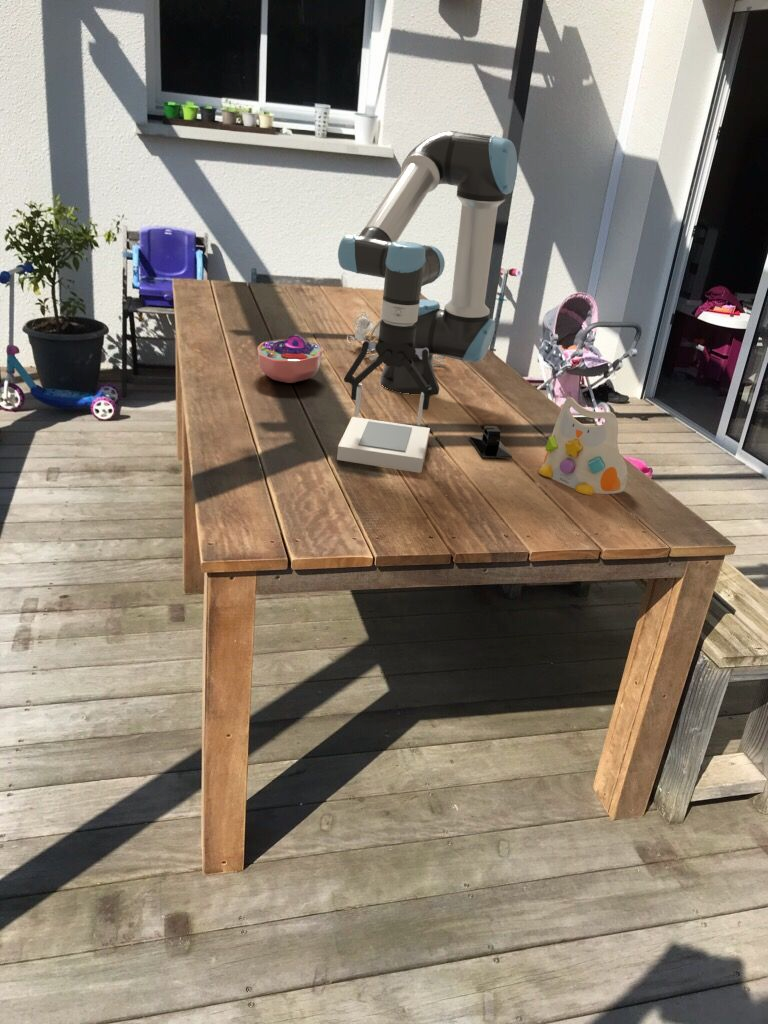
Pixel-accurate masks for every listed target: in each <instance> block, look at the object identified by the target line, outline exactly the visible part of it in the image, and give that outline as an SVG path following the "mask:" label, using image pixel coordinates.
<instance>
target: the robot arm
mask: <svg viewBox="0 0 768 1024" xmlns="http://www.w3.org/2000/svg"><path fill="white" fill-rule="evenodd" d="M400 171H401V172H400V174H399V176H398V177H397V179H396V180H395V182H394V183H393V185H391V187H390V189H389V191H387V193H386V195H385V196H384V198H383V199H382V201H381V203H380V204H379V205H378V206H377V209H375V211H374V213H373V214H372V215H371V218H370V219H369V221H368V222H367V223H366V225H365V226H364V228H363V229H362V230H361V232H360V233H359V235H357V234H355V233H354V234H346V235H344V236H343V237H342V238H341V240H340V243H339V246H338V250H337V258H338V264H339V266H340V268H341V269H343V270H344V271H348V272H352V273H355V274H360V275H364V276H365V275H366V276H372V277H377V278H383V279H384V281H383V283H384V284H383V285H384V286H383V295H382V304H381V312H380V319H381V318H382V319H383V320H382V321H381V322H380V330H379V338H378V339H377V340H378V341H377V342H376V341H375V342H372V341H371V339H370V340H369V339H368V338H366V339H365V338H364V340H363V341H362V342H363V343H362V347H361V350H360V352H359V354H358V356H357V357H356V359H355V360H354V362H353V363H352V365H351V366H350V368H349V370H348V371H347V373H345V376H344V377H343V381H344V382H345V383H349V384H350V385H351V393H350V398H351V400H352V401H355V404H354V406H355V407H354V415H353V417H359V415H360V412H361V405H362V404H361V402H362V392H363V391H362V390H363V383H362V381H364V380H365V379H366V378H367V377H368V376H369V375H370V374H371V373H372V372H373V371H375V370H376V369H377V368H378V367H380V366H381V365H384V367H383V370H382V372H381V374H380V380H379V381H380V382H379V383H381V384H380V385H381V386H382V385H383V386H384V387H383V386H382V387H383V388H385V387H386V388H388V389H387V390H389V389H390V390H389V391H391V390H393V391H392V392H394V391H396V392H395V393H398V392H401V393H400V394H403V393H409V394H408V395H411V394H421V395H419V396H420V397H419V405H418V411H417V413H418V414H417V418H416V419H417V421H416V426H421V423H422V418H423V410H424V411H428V410H429V407H430V406H429V405H430V400H431V399H430V398H431V396H433V395H435V396H436V395H438V394H439V392H440V386H439V383H438V382H439V381H438V380H437V377H436V374H435V369H434V365H433V364H434V363H433V360H432V358H433V357H434V355H433V354H436V355H435V356H445V358H446V357H447V358H451V359H455V360H458V361H462V362H468V363H469V362H470V363H480V361H482V360H483V359H484V357H485V356H486V354H487V352H488V350H489V349H490V346H491V343H492V341H493V337H494V335H495V334H494V333H495V330H496V321H495V320H494V319H493V318H490V311H491V310H490V308H489V307H488V306H487V305H486V297H487V290H488V288H487V287H488V284H489V283H488V281H489V274H490V268H491V267H490V266H491V260H492V252H493V244H494V237H495V230H496V222H497V215H498V207H499V206H501V204H503V203H504V202H505V201H506V196H507V195H508V194H511V193H512V192H514V188H515V186H516V180H517V176H518V175H517V174H518V154H517V150H516V147H515V145H514V142H513V141H511V140H510V139H508V138H503V137H500V136H496V135H486V134H479V133H469V132H460V131H455V130H449V131H442V132H439V133H436V134H434V135H432V136H430V137H428V138H426V139H424V140H422V141H421V142H419V144H417V145H416V146H415V147H414V148H412V150H411V151H409V153H408V155H406V157H405V158H404V160H403V161H402V163H401V170H400ZM439 185H450V186H455V187H457V189H456V197H457V199H458V200H459V201H460V202H461V210H460V220H459V230H458V238H457V245H456V246H457V248H456V256H455V264H454V272H453V273H454V274H453V280H452V281H453V282H452V292H451V299H450V301H448V302H447V303H446V304H445V305H444V309H441V305H440V302H438V301H436V300H432V299H421V293H422V287H424V286H426V285H428V284H432V283H433V282H435V281H437V279H438V278H439V277H441V275H442V274H443V272H444V270H445V265H446V262H445V257H444V255H443V253H442V252H441V250H440V249H439V248H438V247H435V246H433V245H426V244H425V245H423V244H420V243H418V242H412V241H404V240H403V241H402V240H400V241H398V240H399V238H400V237H401V235H402V234H403V232H404V231H405V230H406V227H408V224H409V223H410V221H411V220H412V218H413V216H414V215H415V213H416V212H417V210H418V208H419V207H420V206H421V204H422V202H423V201H424V199H425V198H426V196H427V195H428V193H431V192H433V191H434V190H435V189H437V187H438V186H439ZM372 349H374V350H375V349H376V350H375V351H376V354H378V355H379V356H377V358H376V359H375V360H374V359H373V360H372V361H371V362H370V363H369V364H368V365H367V367H364V369H363V370H361V371H360V372H359V374H357V376H353V375H355V373H356V371H357V370H358V369H359V367H360V366H361V364H362V362H363V360H364V359H365V356H367V354H368V353H369V352H371V353H372V351H371V350H372ZM367 352H368V353H367ZM386 388H385V389H386Z"/></svg>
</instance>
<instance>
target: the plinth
mask: <svg viewBox="0 0 768 1024" xmlns="http://www.w3.org/2000/svg"><path fill="white" fill-rule="evenodd" d="M430 430H431V428H430V427H425V426H420V425H412V424H411V425H410V424H404V423H397V422H390V421H383V420H376V419H371V418H363V417H358V416H352V417H351V419H350V420H349V423H348V425H347V427H346V429H345V432H344V433H343V436H342V437H341V439H340V441H339V443H338V446H337V453H336V454H337V455H336V456H337V457H336V460H337V461H342V462H343V461H344V462H348V463H349V462H350V463H354V464H355V463H356V464H362V465H368V466H375V467H381V468H386V469H393V470H400V471H404V472H405V471H406V472H412V473H418V474H419V473H420V474H422V470H423V466H424V462H425V459H426V453H427V449H428V443H429V436H430V432H431V431H430Z"/></svg>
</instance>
